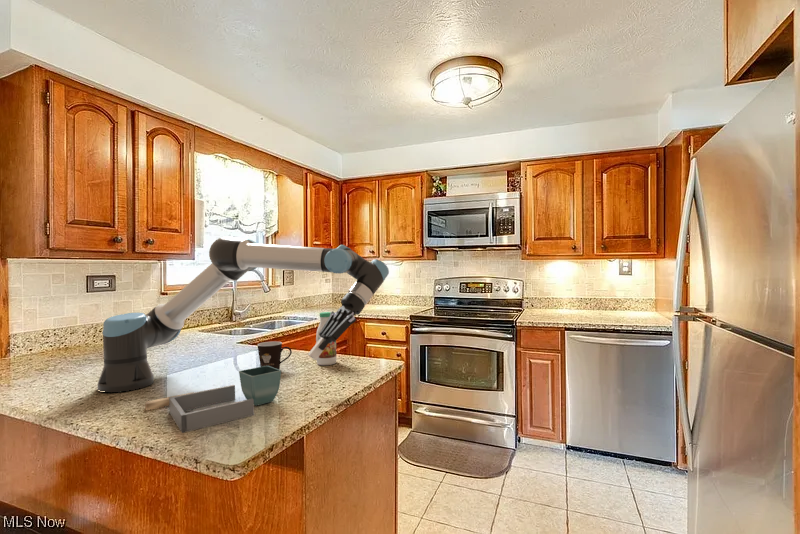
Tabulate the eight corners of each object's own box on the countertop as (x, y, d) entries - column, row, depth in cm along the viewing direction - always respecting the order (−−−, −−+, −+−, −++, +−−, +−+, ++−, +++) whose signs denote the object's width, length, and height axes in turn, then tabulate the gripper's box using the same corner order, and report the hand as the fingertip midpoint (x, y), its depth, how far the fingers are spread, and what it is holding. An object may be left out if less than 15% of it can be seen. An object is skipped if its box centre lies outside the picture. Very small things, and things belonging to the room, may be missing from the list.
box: (234, 398, 115) (233, 384, 115) (253, 414, 101) (253, 399, 101) (169, 412, 104) (169, 397, 104) (181, 432, 91) (181, 415, 91)
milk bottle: (312, 365, 152) (311, 313, 152) (323, 360, 159) (322, 311, 159) (329, 366, 149) (328, 313, 149) (340, 361, 157) (339, 311, 157)
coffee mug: (252, 372, 143) (252, 345, 143) (270, 366, 151) (270, 340, 151) (276, 376, 138) (275, 347, 138) (293, 370, 145) (293, 343, 145)
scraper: (147, 414, 104) (147, 406, 104) (144, 406, 110) (144, 399, 110) (209, 401, 114) (208, 394, 114) (202, 394, 120) (202, 387, 120)
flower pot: (268, 394, 117) (267, 364, 117) (282, 401, 111) (282, 370, 111) (238, 402, 111) (238, 370, 111) (252, 410, 105) (251, 376, 105)
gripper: (374, 307, 128) (330, 368, 117) (352, 305, 138) (310, 360, 127) (360, 292, 124) (313, 353, 114) (339, 290, 134) (294, 346, 124)
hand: (311, 357), depth 121 cm, fingers closed
